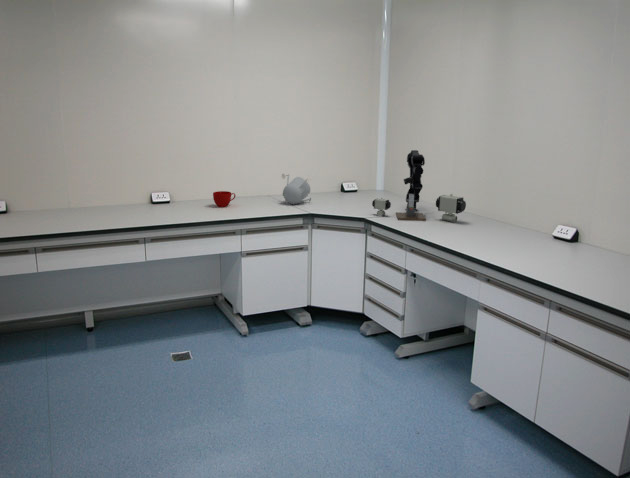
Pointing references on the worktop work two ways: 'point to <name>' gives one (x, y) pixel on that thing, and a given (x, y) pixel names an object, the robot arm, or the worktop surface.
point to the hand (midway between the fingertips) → (415, 196)
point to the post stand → (410, 215)
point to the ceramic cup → (222, 198)
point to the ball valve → (450, 206)
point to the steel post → (411, 201)
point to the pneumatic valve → (381, 206)
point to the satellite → (296, 190)
